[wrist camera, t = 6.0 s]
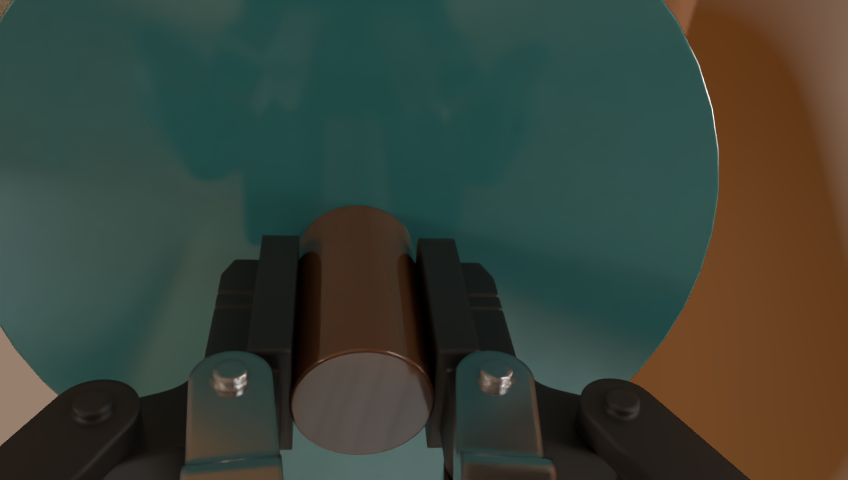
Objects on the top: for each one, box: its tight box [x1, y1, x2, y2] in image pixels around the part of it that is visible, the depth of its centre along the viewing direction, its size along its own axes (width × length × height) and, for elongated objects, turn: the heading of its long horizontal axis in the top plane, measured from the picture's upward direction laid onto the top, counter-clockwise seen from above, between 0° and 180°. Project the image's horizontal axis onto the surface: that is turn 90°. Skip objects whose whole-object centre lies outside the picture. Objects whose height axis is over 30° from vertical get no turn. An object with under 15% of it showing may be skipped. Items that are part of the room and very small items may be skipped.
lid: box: [0, 0, 719, 480], centre depth 15 cm, size 16×16×6 cm
